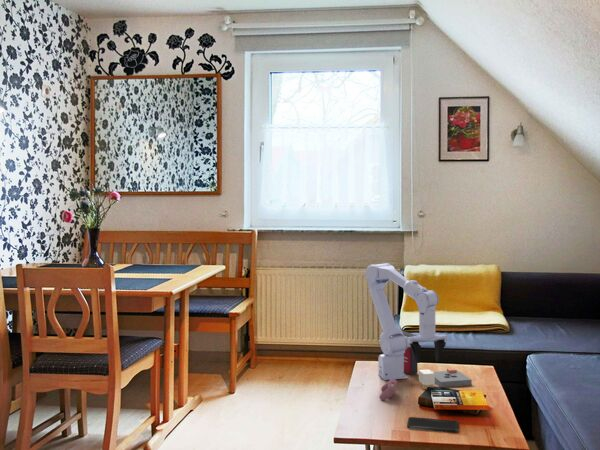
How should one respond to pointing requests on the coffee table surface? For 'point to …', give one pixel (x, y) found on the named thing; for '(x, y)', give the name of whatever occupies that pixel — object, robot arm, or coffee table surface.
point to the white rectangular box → (426, 378)
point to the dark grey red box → (409, 357)
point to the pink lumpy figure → (388, 389)
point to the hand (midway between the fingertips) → (427, 361)
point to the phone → (433, 424)
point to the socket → (451, 378)
